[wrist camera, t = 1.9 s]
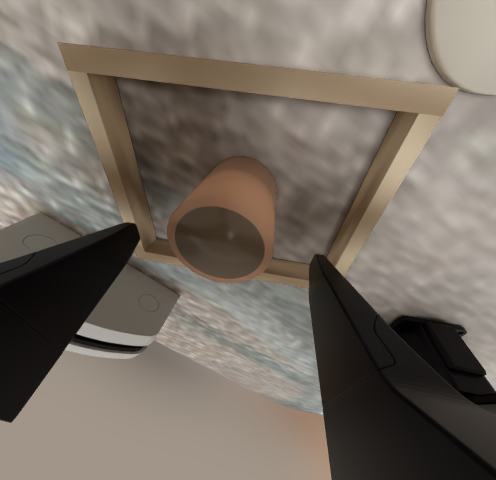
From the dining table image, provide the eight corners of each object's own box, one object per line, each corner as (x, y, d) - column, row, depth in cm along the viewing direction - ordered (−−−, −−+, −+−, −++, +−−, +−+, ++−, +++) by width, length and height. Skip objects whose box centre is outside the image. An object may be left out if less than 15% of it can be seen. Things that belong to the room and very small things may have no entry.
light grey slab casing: (33, 237, 21) (-117, 297, 12) (52, 206, 20) (-97, 245, 11) (164, 309, 27) (130, 388, 17) (184, 288, 26) (159, 360, 16)
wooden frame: (329, 275, 18) (333, 293, 16) (149, 244, 19) (136, 258, 17) (430, 88, 9) (459, 87, 8) (91, 50, 10) (57, 42, 9)
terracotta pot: (270, 226, 16) (264, 290, 11) (209, 216, 16) (174, 274, 11) (283, 162, 13) (284, 208, 7) (207, 151, 13) (156, 188, 8)
